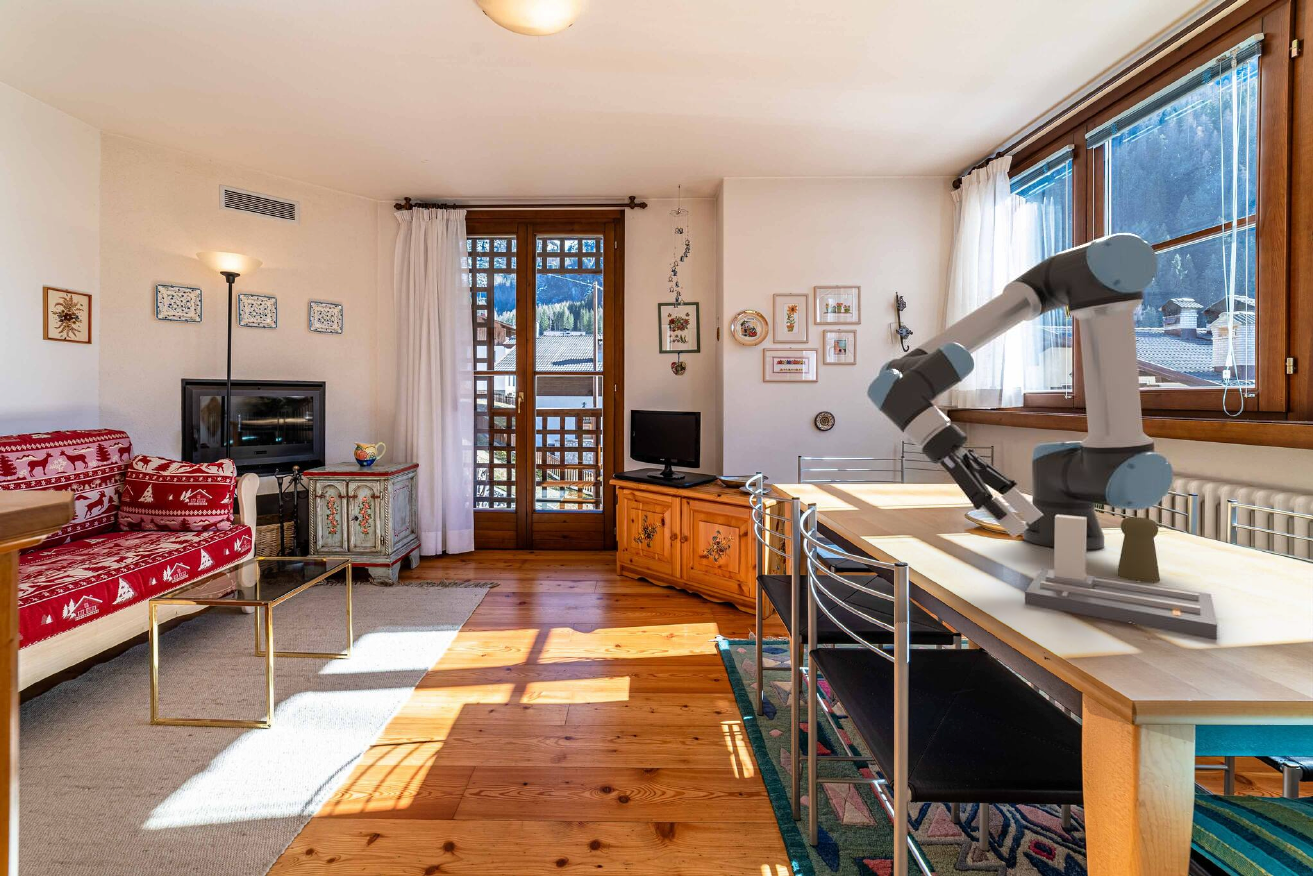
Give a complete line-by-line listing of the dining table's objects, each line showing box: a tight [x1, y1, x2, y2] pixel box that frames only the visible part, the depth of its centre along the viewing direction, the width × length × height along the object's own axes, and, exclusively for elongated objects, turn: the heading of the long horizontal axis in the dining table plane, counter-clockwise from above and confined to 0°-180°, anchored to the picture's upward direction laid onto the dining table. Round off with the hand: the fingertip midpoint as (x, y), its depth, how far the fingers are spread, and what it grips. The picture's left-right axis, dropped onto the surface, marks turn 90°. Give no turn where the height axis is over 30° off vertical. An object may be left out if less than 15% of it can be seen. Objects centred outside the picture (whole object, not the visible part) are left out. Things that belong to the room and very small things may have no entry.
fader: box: [1046, 515, 1095, 589], centre depth 93 cm, size 5×6×11 cm
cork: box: [1116, 516, 1161, 584], centre depth 102 cm, size 6×6×11 cm
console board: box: [1024, 568, 1218, 640], centre depth 89 cm, size 16×22×3 cm
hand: (1029, 526), depth 96 cm, fingers open, 13 cm apart
